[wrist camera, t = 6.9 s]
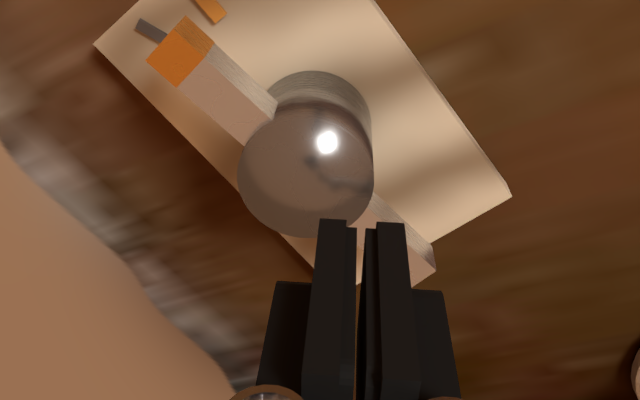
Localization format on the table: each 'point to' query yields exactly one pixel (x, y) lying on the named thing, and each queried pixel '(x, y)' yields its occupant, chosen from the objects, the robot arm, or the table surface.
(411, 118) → the stand
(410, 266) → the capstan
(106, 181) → the table surface
